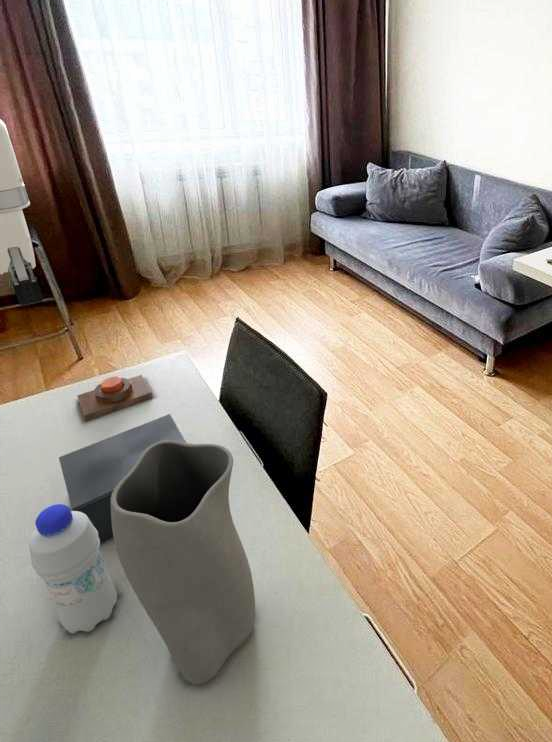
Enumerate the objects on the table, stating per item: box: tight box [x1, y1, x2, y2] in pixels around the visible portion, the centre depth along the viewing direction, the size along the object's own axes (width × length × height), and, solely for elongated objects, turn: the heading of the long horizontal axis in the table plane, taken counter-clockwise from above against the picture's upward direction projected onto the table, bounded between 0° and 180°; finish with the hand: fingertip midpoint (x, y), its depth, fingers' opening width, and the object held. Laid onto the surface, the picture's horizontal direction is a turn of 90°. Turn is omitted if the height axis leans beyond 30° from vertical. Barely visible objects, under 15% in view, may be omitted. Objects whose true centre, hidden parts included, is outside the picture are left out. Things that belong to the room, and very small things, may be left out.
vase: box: [111, 440, 257, 686], centre depth 59 cm, size 12×12×30 cm
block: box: [76, 374, 153, 422], centre depth 105 cm, size 12×8×4 cm, turn 132°
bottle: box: [28, 503, 118, 634], centre depth 63 cm, size 7×7×20 cm
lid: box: [58, 413, 187, 511], centre depth 80 cm, size 16×13×1 cm
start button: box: [100, 376, 123, 393], centre depth 103 cm, size 4×4×2 cm
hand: (31, 301), depth 85 cm, fingers closed
